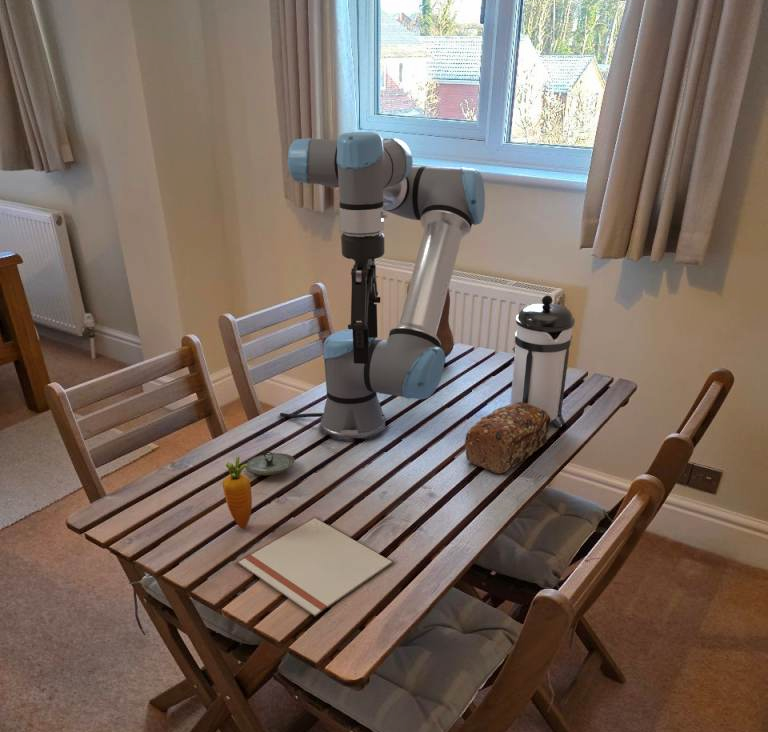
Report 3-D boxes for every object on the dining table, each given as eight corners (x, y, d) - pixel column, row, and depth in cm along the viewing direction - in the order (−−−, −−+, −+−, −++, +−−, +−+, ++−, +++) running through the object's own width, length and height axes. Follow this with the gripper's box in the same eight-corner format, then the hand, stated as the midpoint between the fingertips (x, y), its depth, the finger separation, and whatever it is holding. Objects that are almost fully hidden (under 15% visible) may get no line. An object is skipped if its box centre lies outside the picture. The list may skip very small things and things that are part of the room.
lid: (267, 493, 143) (270, 474, 140) (234, 469, 147) (236, 450, 144) (302, 473, 151) (305, 455, 148) (269, 450, 154) (272, 432, 151)
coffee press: (579, 415, 167) (597, 292, 152) (545, 439, 157) (560, 310, 142) (518, 396, 177) (529, 279, 162) (482, 417, 167) (490, 295, 152)
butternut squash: (429, 350, 206) (431, 265, 193) (462, 362, 197) (465, 274, 184) (394, 362, 198) (393, 275, 185) (426, 376, 190) (427, 285, 176)
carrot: (244, 517, 133) (234, 450, 125) (262, 527, 131) (252, 458, 123) (224, 529, 130) (212, 461, 122) (242, 539, 127) (230, 469, 119)
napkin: (238, 563, 121) (238, 561, 121) (315, 519, 132) (315, 517, 132) (315, 616, 110) (314, 614, 109) (391, 563, 121) (391, 561, 120)
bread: (502, 478, 144) (505, 435, 138) (461, 461, 150) (463, 420, 145) (550, 445, 155) (554, 405, 150) (510, 430, 161) (513, 391, 156)
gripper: (376, 249, 109) (378, 375, 120) (390, 218, 130) (392, 327, 141) (328, 249, 109) (336, 374, 120) (351, 218, 130) (355, 327, 141)
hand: (366, 349), depth 131 cm, fingers open, 13 cm apart
